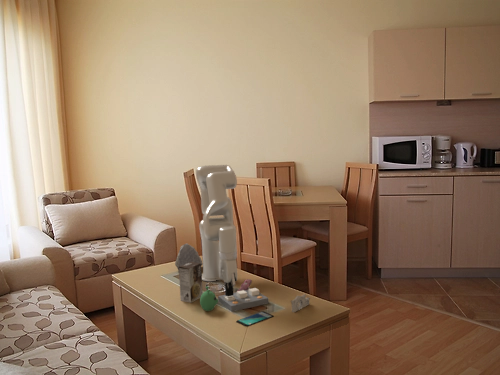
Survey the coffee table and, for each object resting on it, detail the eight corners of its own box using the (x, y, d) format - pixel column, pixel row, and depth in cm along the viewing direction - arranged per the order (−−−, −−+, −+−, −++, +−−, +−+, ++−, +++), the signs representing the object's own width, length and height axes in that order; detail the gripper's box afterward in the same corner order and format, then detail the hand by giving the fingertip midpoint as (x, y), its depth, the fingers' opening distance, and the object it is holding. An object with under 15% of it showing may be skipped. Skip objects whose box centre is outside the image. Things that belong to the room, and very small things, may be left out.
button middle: (236, 297, 208) (236, 291, 208) (243, 295, 210) (243, 290, 210) (240, 299, 205) (239, 293, 205) (247, 298, 207) (247, 292, 206)
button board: (218, 301, 209) (218, 295, 209) (253, 294, 217) (253, 288, 217) (231, 311, 197) (231, 305, 196) (268, 303, 205) (268, 297, 204)
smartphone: (274, 315, 190) (246, 326, 181) (274, 317, 190) (246, 327, 181) (263, 310, 196) (235, 320, 186) (263, 312, 196) (235, 322, 186)
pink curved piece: (244, 298, 216) (250, 285, 215) (235, 293, 217) (242, 281, 216) (248, 291, 226) (254, 278, 225) (240, 286, 227) (246, 274, 225)
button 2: (248, 294, 211) (248, 289, 211) (255, 293, 213) (255, 287, 212) (252, 297, 208) (252, 291, 208) (259, 295, 210) (259, 290, 209)
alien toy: (219, 312, 196) (218, 289, 195) (201, 314, 195) (200, 291, 194) (217, 306, 203) (216, 284, 202) (199, 308, 202) (198, 286, 200)
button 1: (224, 302, 206) (224, 296, 205) (231, 301, 207) (231, 295, 207) (227, 305, 203) (227, 299, 202) (235, 303, 204) (235, 297, 204)
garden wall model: (306, 303, 203) (306, 290, 203) (310, 304, 202) (310, 291, 202) (290, 312, 194) (290, 298, 194) (294, 313, 193) (294, 299, 193)
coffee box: (192, 294, 219) (190, 261, 217) (203, 296, 216) (201, 262, 214) (179, 300, 212) (178, 266, 210) (191, 303, 208) (189, 268, 206)
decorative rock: (177, 273, 253) (176, 246, 251) (173, 270, 259) (172, 244, 257) (205, 268, 260) (204, 242, 259) (200, 265, 266) (199, 240, 264)
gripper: (213, 252, 207) (214, 291, 210) (227, 260, 194) (228, 302, 197) (228, 249, 211) (229, 288, 213) (243, 257, 198) (244, 299, 200)
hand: (229, 295), depth 205 cm, fingers closed
